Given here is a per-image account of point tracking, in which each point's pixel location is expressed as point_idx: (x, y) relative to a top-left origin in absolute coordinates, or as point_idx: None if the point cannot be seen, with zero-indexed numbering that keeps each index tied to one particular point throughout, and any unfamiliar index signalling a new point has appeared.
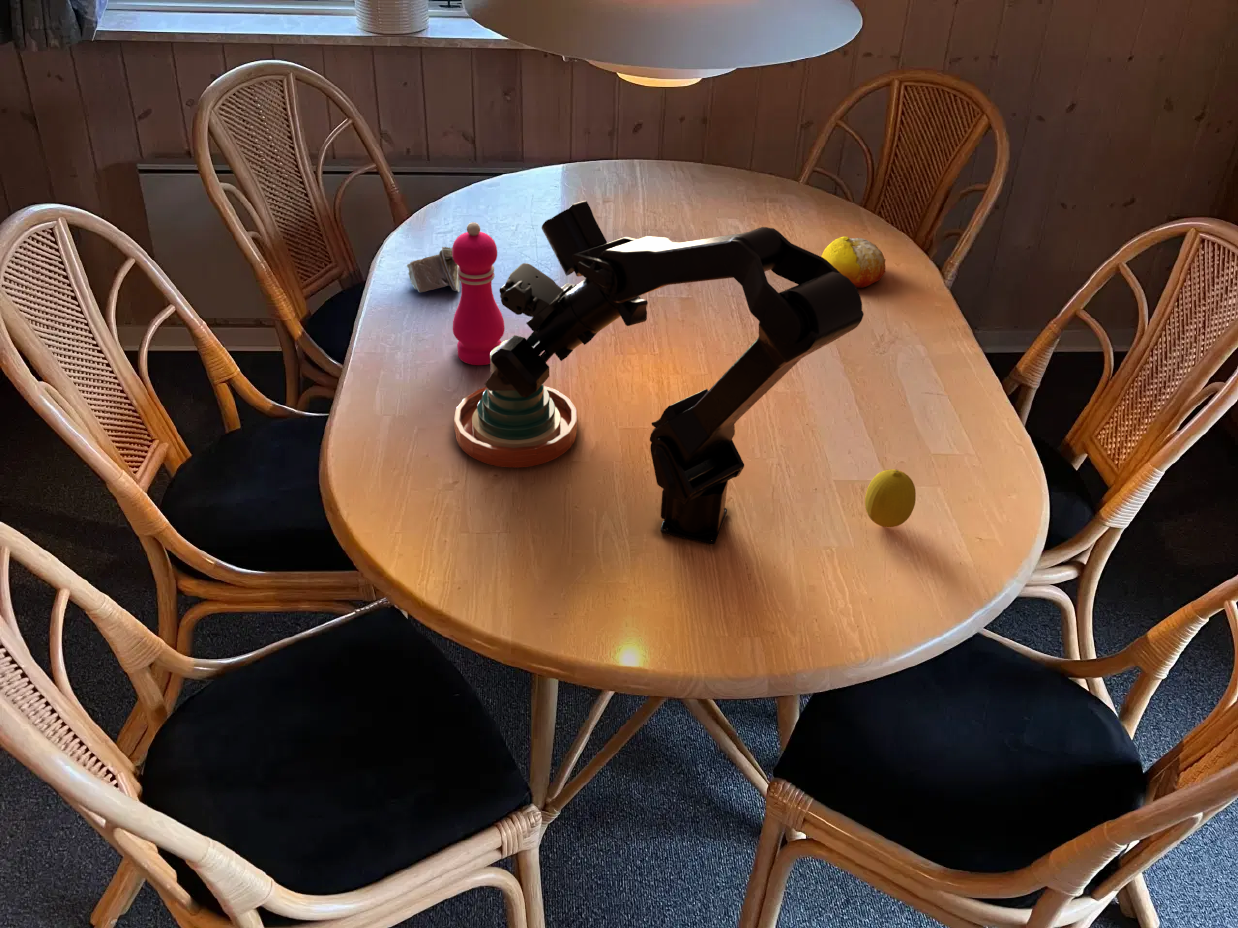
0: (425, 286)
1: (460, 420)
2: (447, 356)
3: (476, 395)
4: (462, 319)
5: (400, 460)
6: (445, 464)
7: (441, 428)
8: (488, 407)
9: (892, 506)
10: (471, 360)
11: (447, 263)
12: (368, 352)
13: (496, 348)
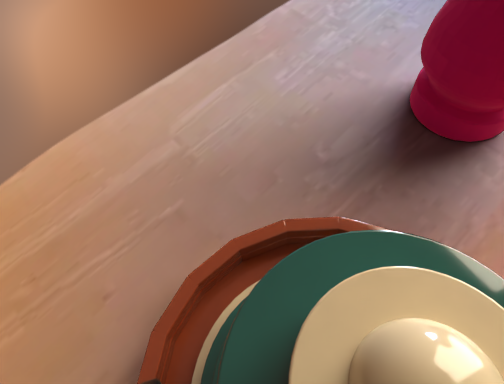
0: None
1: (216, 276)
2: (396, 78)
3: (315, 230)
4: (455, 12)
5: (64, 266)
6: (98, 357)
7: (208, 241)
8: (215, 371)
9: None
10: (422, 114)
11: None
12: (295, 11)
13: (350, 243)
